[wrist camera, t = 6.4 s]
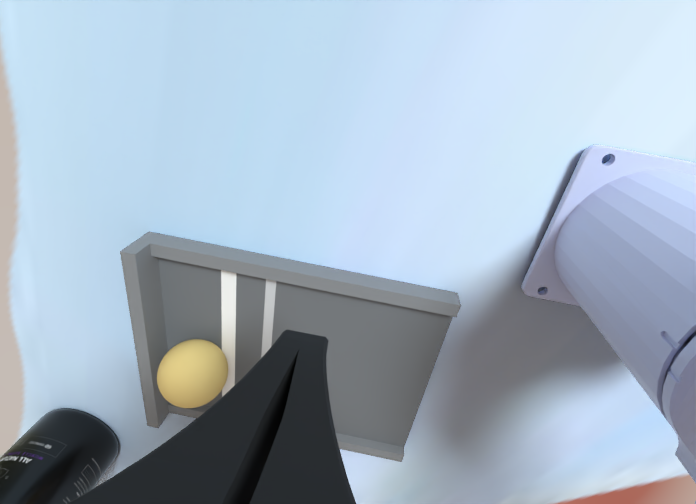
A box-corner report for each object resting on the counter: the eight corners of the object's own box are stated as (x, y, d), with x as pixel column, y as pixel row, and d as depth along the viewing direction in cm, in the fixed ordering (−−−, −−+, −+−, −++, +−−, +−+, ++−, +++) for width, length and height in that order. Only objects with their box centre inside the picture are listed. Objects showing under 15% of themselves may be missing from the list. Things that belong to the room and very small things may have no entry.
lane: (457, 293, 21) (464, 320, 18) (401, 446, 27) (401, 480, 25) (149, 231, 21) (120, 251, 19) (167, 396, 28) (147, 425, 25)
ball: (138, 348, 21) (204, 315, 23) (161, 387, 24) (219, 355, 26) (158, 396, 19) (231, 355, 21) (181, 435, 21) (244, 395, 23)
